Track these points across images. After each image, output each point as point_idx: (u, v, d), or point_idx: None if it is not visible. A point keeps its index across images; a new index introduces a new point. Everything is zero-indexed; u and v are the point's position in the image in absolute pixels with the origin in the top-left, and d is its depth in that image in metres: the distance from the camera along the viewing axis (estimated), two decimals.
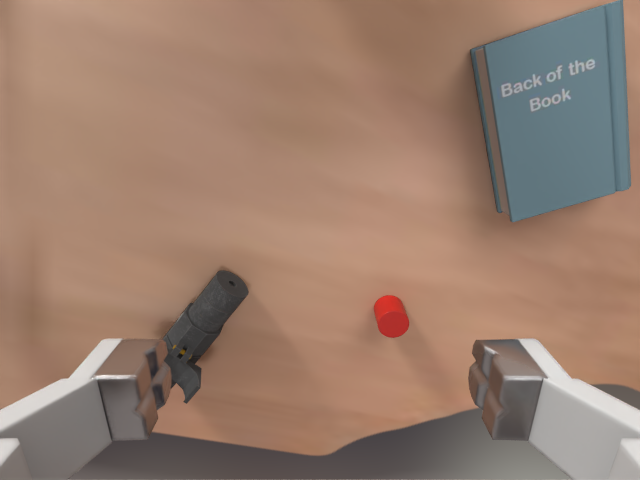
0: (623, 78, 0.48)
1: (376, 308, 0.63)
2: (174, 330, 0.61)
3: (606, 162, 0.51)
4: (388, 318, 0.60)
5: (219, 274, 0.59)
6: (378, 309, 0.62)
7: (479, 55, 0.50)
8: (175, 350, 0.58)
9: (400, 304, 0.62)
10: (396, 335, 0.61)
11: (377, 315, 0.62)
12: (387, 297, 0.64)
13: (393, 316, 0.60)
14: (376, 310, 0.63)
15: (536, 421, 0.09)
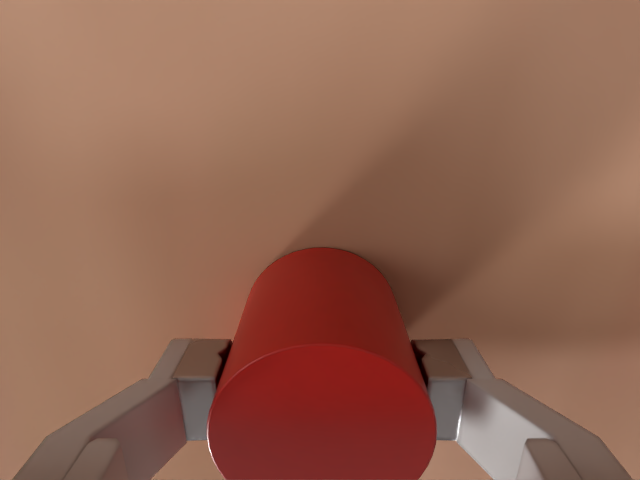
0: None
1: None
2: None
3: None
4: (283, 478, 0.09)
5: None
6: None
7: None
8: None
9: (239, 325, 0.10)
10: (408, 399, 0.08)
11: None
12: None
13: (258, 456, 0.08)
14: None
15: (464, 421, 0.09)
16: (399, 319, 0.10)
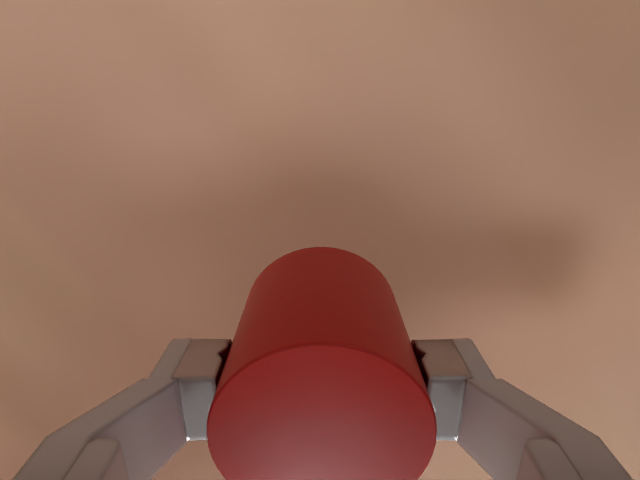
0: None
1: None
2: None
3: None
4: (283, 478, 0.09)
5: None
6: None
7: None
8: None
9: (239, 324, 0.10)
10: (408, 399, 0.08)
11: None
12: None
13: (257, 456, 0.08)
14: None
15: (464, 421, 0.09)
16: (399, 318, 0.10)
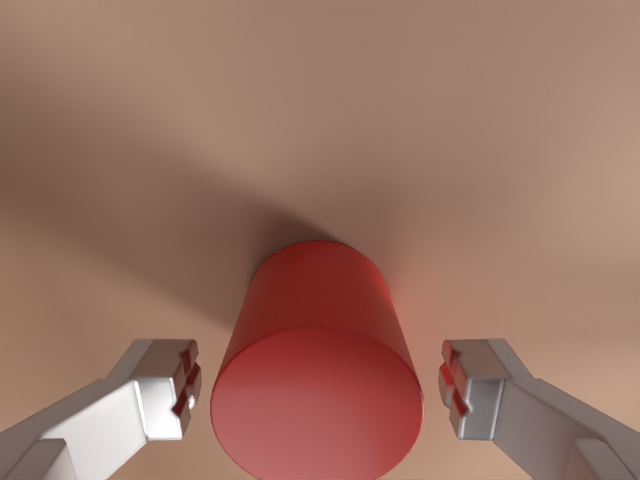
0: None
1: None
2: None
3: None
4: (281, 453, 0.09)
5: None
6: None
7: None
8: None
9: (240, 313, 0.11)
10: (396, 378, 0.08)
11: None
12: None
13: (257, 432, 0.09)
14: None
15: (501, 421, 0.09)
16: (391, 307, 0.11)
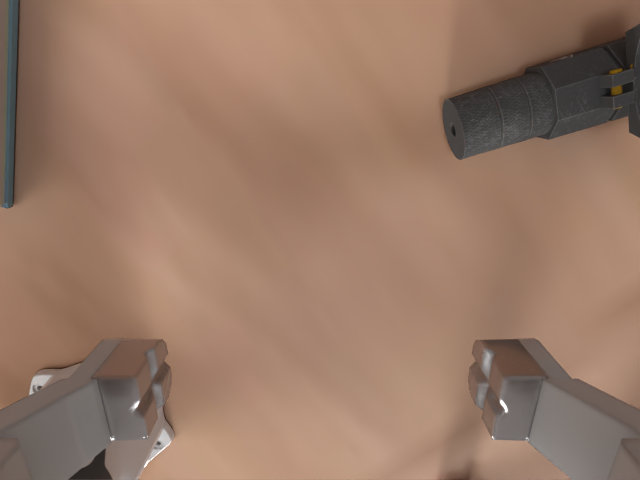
0: None
1: None
2: (591, 123, 0.35)
3: None
4: None
5: (457, 153, 0.37)
6: None
7: None
8: (620, 103, 0.31)
9: None
10: None
11: None
12: None
13: None
14: None
15: (536, 421, 0.09)
16: None
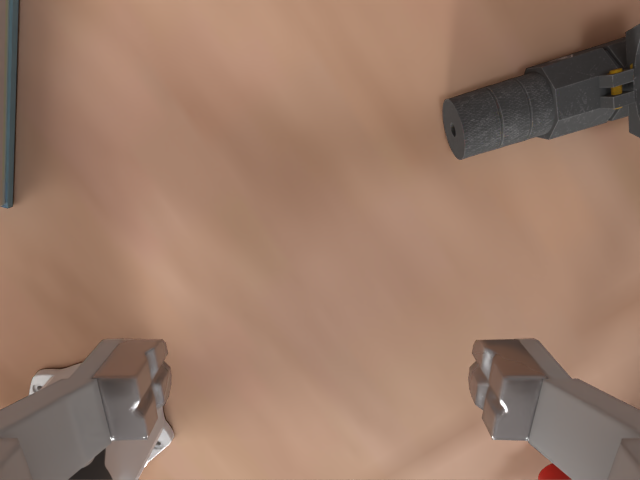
0: None
1: None
2: (591, 123, 0.35)
3: None
4: None
5: (457, 153, 0.37)
6: None
7: None
8: (621, 103, 0.31)
9: None
10: None
11: None
12: None
13: None
14: None
15: (536, 421, 0.09)
16: None
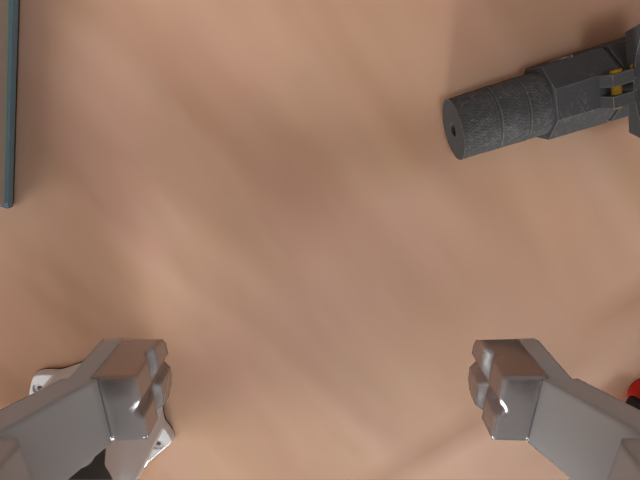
0: None
1: None
2: (591, 123, 0.35)
3: None
4: None
5: (457, 153, 0.37)
6: None
7: None
8: (621, 103, 0.31)
9: None
10: None
11: None
12: None
13: None
14: None
15: (536, 421, 0.09)
16: None
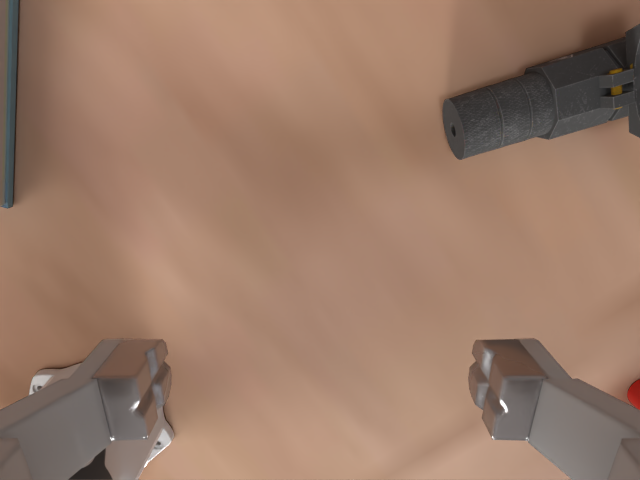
0: None
1: None
2: (591, 123, 0.35)
3: None
4: None
5: (457, 153, 0.37)
6: None
7: None
8: (621, 103, 0.31)
9: None
10: None
11: None
12: None
13: None
14: None
15: (536, 421, 0.09)
16: None
